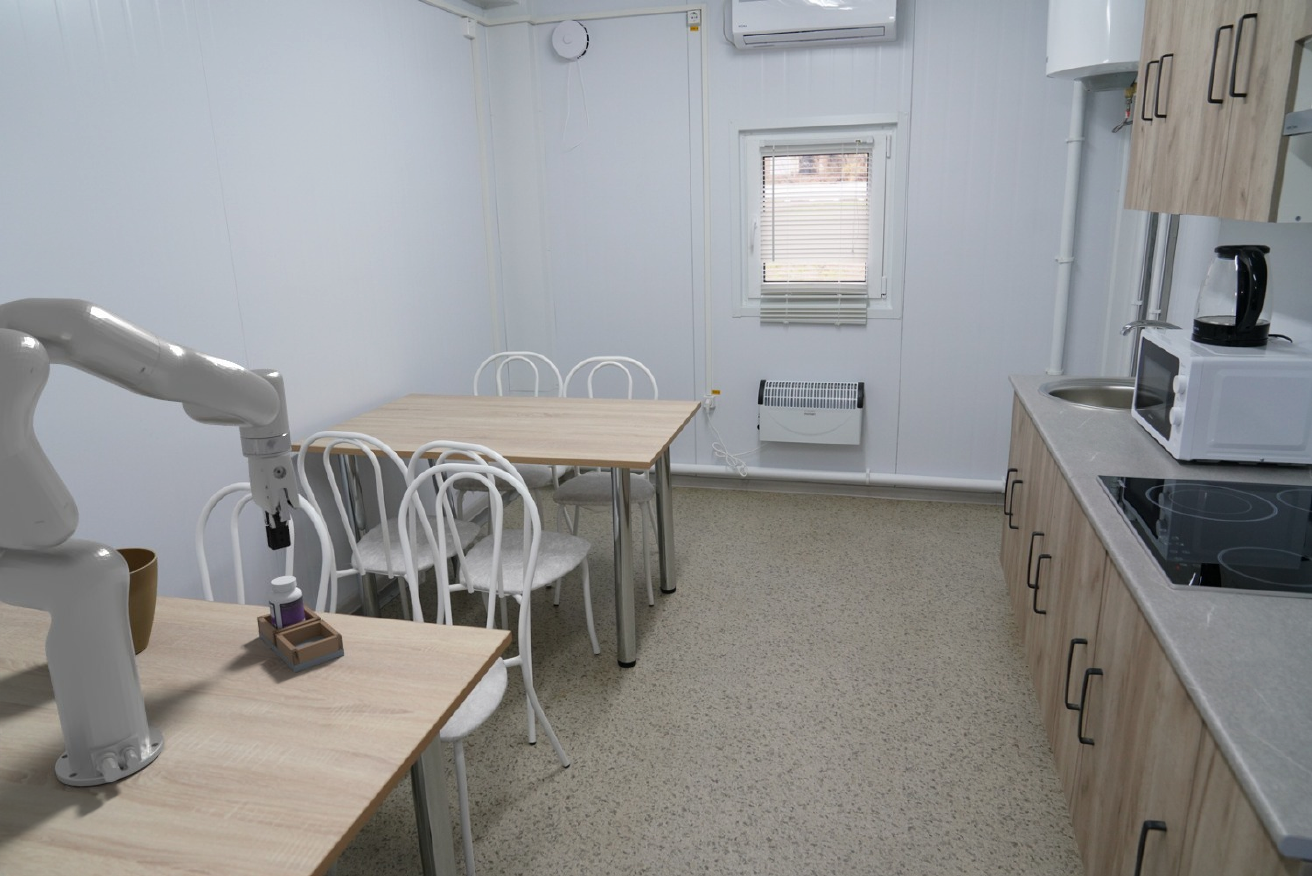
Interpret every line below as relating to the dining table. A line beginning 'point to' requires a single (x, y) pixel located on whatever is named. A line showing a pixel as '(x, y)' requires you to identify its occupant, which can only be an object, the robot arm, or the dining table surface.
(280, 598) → the pill bottle
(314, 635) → the two-cubby wooden organizer
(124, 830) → the dining table surface
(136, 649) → the plant pot
